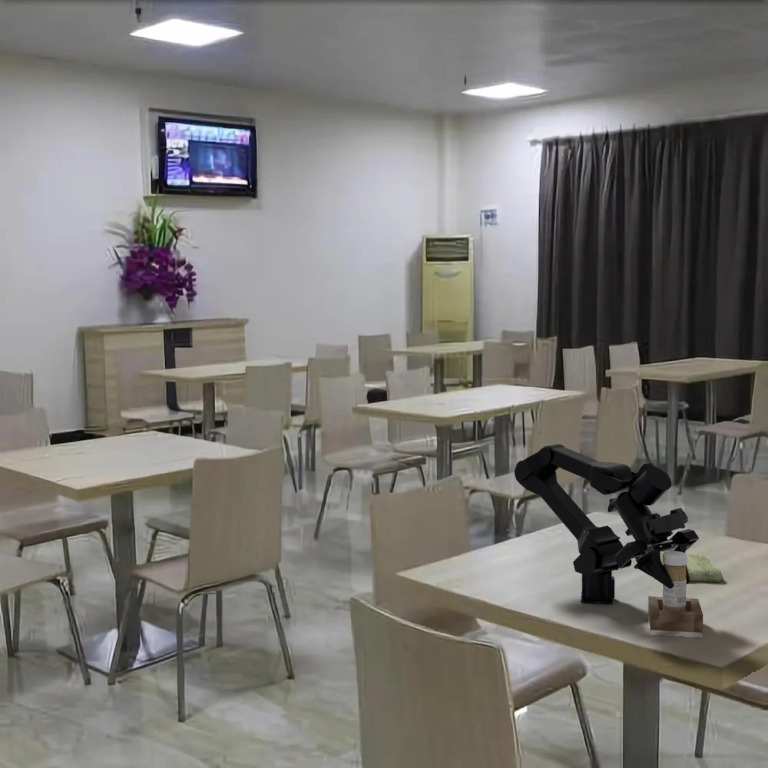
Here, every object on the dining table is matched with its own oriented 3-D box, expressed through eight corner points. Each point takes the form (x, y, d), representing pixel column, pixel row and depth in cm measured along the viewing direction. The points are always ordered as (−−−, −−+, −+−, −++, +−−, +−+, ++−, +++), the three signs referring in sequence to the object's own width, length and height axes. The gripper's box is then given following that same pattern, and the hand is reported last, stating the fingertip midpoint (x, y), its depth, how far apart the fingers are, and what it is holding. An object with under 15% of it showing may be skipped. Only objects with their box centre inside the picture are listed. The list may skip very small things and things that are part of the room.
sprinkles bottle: (678, 615, 195) (679, 549, 194) (690, 623, 191) (691, 555, 190) (657, 617, 194) (658, 551, 193) (669, 625, 190) (670, 557, 189)
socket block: (650, 634, 189) (650, 612, 189) (648, 617, 199) (648, 596, 198) (702, 637, 187) (703, 615, 187) (697, 620, 196) (698, 598, 196)
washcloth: (706, 562, 238) (706, 549, 237) (725, 585, 220) (725, 571, 220) (650, 561, 239) (651, 549, 238) (665, 584, 221) (665, 570, 221)
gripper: (627, 502, 188) (671, 572, 180) (692, 489, 198) (737, 555, 190) (597, 533, 196) (638, 602, 188) (661, 519, 206) (703, 584, 198)
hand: (680, 585), depth 191 cm, fingers open, 4 cm apart
